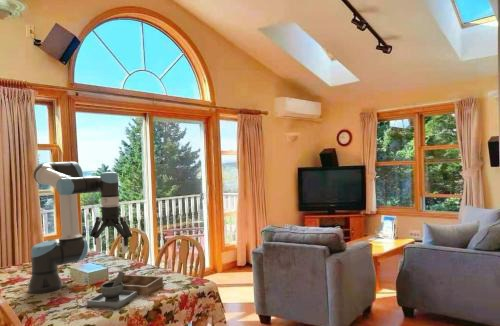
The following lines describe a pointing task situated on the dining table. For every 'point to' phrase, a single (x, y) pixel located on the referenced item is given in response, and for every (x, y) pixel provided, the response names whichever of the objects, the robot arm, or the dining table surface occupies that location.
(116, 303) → the tray
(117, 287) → the mortar and pestle
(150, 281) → the tray
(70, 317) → the dining table surface
